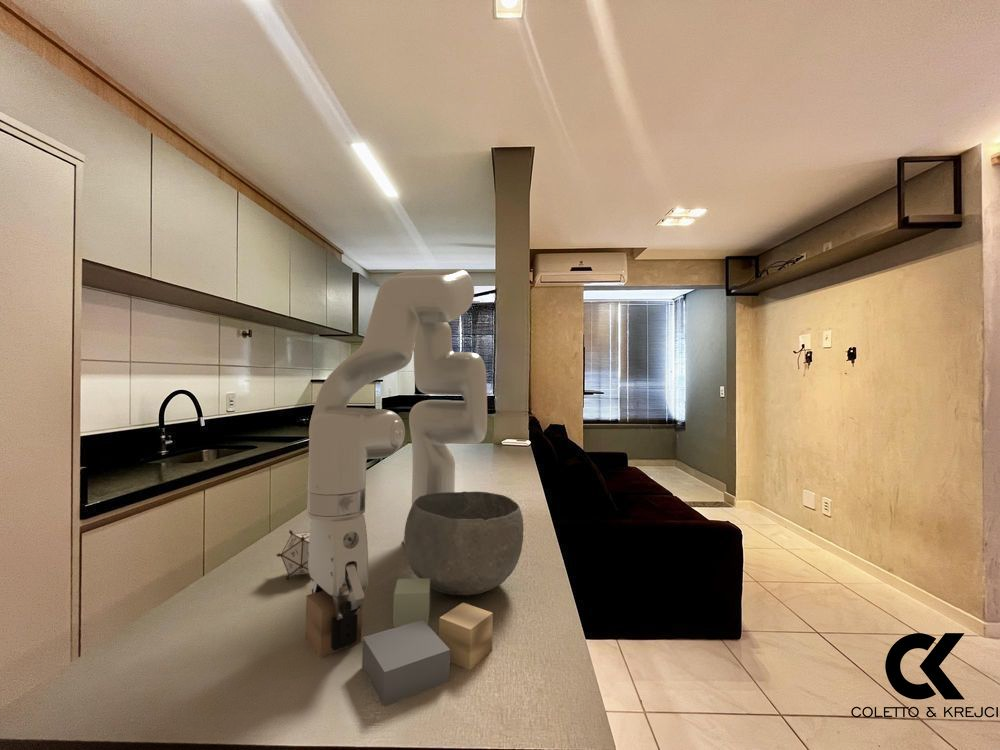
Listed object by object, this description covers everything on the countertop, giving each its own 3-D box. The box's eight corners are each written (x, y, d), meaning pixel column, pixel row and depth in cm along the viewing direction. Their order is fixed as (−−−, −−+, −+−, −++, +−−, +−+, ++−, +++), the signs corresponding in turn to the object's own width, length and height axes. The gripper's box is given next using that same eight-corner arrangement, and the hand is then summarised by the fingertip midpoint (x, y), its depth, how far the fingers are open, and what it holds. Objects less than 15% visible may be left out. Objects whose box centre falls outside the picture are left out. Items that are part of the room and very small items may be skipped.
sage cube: (429, 610, 70) (430, 578, 70) (427, 627, 65) (428, 592, 65) (397, 611, 70) (397, 578, 70) (392, 628, 65) (393, 593, 65)
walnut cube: (344, 625, 65) (345, 583, 65) (361, 642, 61) (362, 597, 61) (305, 639, 61) (306, 595, 62) (320, 658, 57) (321, 610, 58)
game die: (306, 599, 80) (304, 568, 75) (267, 578, 82) (263, 545, 76) (338, 559, 87) (339, 528, 82) (303, 540, 89) (301, 508, 84)
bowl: (428, 630, 64) (431, 525, 64) (388, 576, 82) (390, 493, 82) (546, 599, 74) (547, 507, 75) (487, 557, 92) (488, 483, 92)
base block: (422, 650, 60) (422, 619, 60) (449, 683, 53) (450, 649, 53) (361, 669, 56) (362, 637, 56) (383, 709, 49) (384, 672, 49)
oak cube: (462, 638, 62) (462, 602, 63) (491, 650, 60) (492, 612, 60) (438, 656, 58) (439, 617, 58) (469, 670, 56) (470, 629, 56)
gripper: (392, 511, 58) (389, 652, 57) (338, 487, 71) (335, 602, 70) (335, 522, 53) (330, 677, 52) (288, 494, 66) (284, 618, 65)
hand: (333, 633), depth 61 cm, fingers open, 6 cm apart
